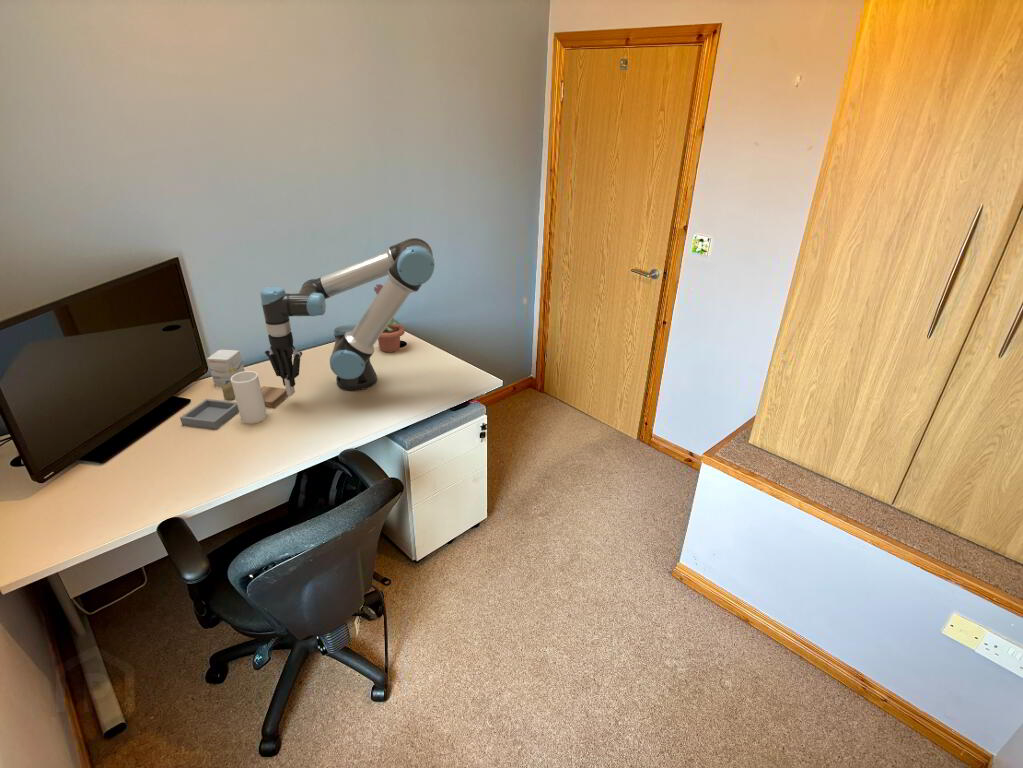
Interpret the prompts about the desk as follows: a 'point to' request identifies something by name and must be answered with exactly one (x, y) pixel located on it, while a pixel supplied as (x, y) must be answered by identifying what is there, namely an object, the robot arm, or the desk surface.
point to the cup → (249, 397)
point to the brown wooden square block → (273, 396)
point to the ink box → (225, 366)
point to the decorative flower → (390, 332)
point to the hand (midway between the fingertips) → (291, 393)
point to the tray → (210, 414)
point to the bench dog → (228, 391)
